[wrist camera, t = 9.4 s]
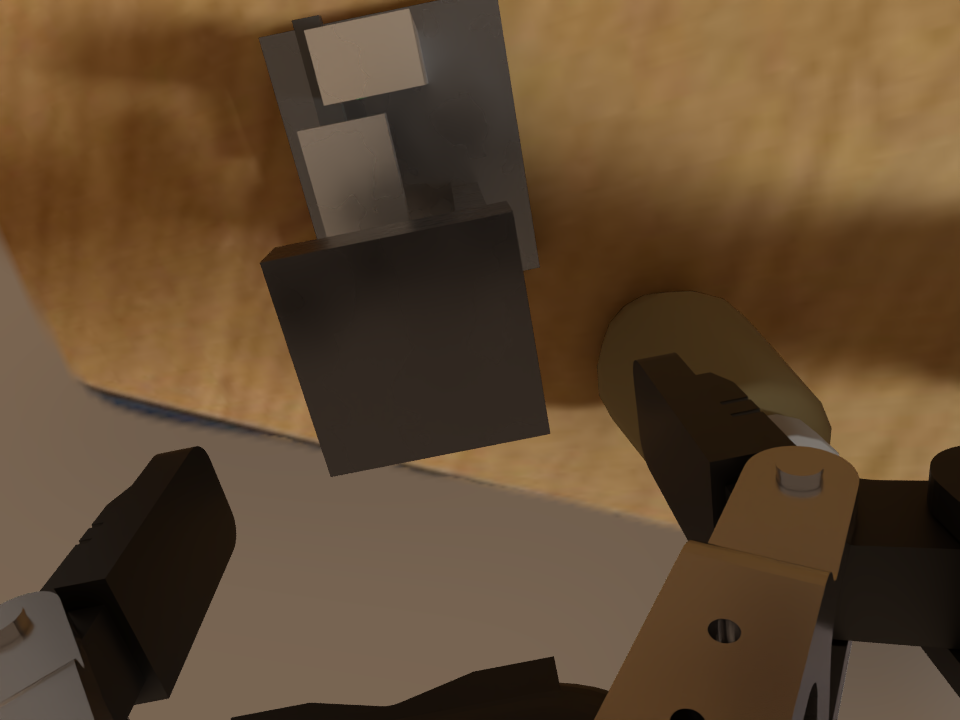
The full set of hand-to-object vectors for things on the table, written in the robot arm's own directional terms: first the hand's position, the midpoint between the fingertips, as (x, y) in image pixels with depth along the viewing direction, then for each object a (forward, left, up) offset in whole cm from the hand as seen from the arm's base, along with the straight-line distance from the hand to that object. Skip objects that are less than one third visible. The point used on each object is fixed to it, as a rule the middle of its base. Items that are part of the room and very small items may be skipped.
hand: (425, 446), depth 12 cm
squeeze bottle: (-12, -7, -22) cm, 26 cm away
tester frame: (+3, -1, -22) cm, 22 cm away
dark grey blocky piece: (+1, 0, -15) cm, 15 cm away
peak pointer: (+7, 0, -17) cm, 19 cm away
